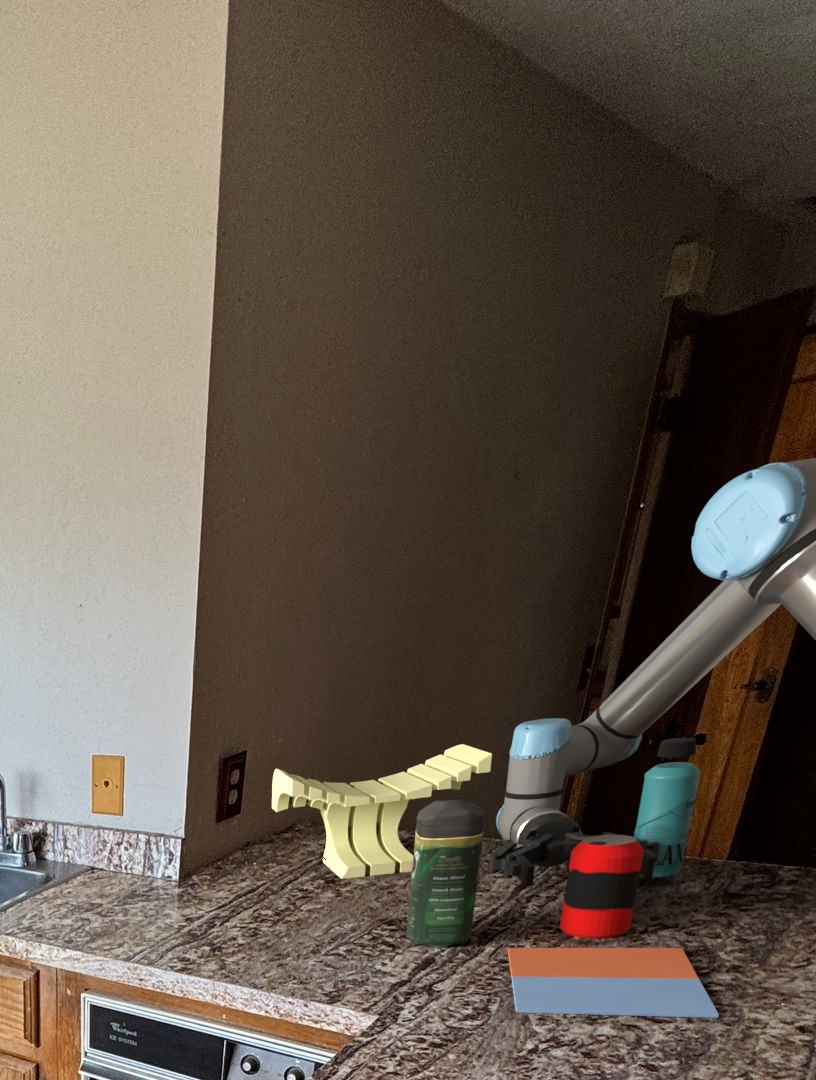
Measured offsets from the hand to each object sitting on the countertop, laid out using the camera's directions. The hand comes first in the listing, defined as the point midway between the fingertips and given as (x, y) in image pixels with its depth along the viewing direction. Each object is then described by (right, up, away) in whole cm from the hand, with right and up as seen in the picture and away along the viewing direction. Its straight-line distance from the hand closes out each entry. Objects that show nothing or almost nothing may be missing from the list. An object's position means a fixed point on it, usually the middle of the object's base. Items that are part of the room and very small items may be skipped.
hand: (589, 872), depth 133 cm
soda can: (0, -8, -1) cm, 8 cm away
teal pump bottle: (+18, +1, +12) cm, 22 cm away
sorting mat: (-10, -17, -16) cm, 25 cm away
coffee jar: (-17, -8, +5) cm, 20 cm away
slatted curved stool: (-7, +11, +43) cm, 45 cm away
